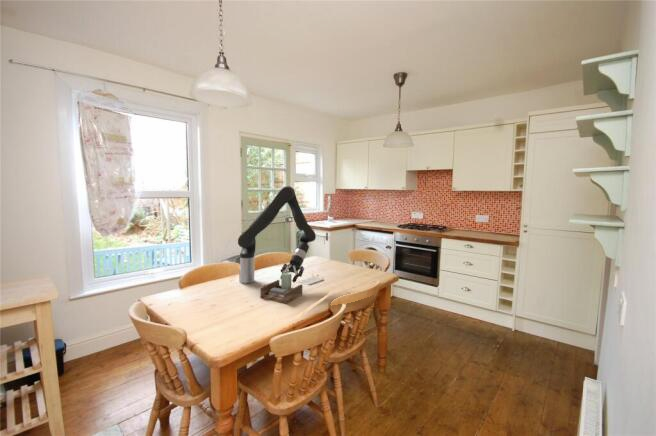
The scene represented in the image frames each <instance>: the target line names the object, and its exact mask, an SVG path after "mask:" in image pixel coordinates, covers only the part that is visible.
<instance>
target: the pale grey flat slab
mask: <svg viewBox="0 0 656 436" xmlns="http://www.w3.org/2000/svg"><path fill="white" fill-rule="evenodd" d="M322 281H324V277H322V276H321V277H319V275H316V276H315V275H314V274H312V275H311V277H307V278H305V279H302V280H299V281H296V282H295V283H297V284H300V285H307V286H311V285H315V284H317V283H319V282H322Z"/></svg>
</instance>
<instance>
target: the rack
mask: <svg viewBox="0 0 656 436" xmlns="http://www.w3.org/2000/svg"><path fill="white" fill-rule="evenodd" d="M280 280H281V279H277V280H275V281H273V282H270V283H267V284H265V285H263V286H261V287H260V289H259V291H260V292H259V293H260V296H259V297H260V299H264V300H268V301H271V302H276V303H280V304H283V305H288V304H289V303H291V302H292V301H294V300H296V299H298V298H300V297H301V296H303V284H299V285H297V286H295V287H291V290H289V291H287V292H285V293H284V299H283V298H278V297H274V296H270V295H268V293H269V292H270V289H272V288H280V289H281V285H280V283H281V281H280Z"/></svg>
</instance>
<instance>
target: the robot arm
mask: <svg viewBox="0 0 656 436" xmlns="http://www.w3.org/2000/svg"><path fill="white" fill-rule="evenodd" d="M286 204H287V205H288V206H289V209H290V211H291V215H292V217H293V220H294V223H295V225H296V227H297V229H298V230H299V231H303V233H301V235H300V237H299V241H298V244H297V247H296V248H295V251H294V252H293V255H292V257H291V258H290V260H289V263H288V264H287V263H286V262H285V263H283V265H282V267H281V269H280V273H281V274H283V273H288V274H290V273H292V274H293V273H294V274H295V275H294V276H293V278H292V279H291V282H293V283H296V282H297V280H298V278H299V277H300V278H301V277H302V276H303V274H304V271H305V267H304V266H302V265H303V264H304V260H305V258H306V256H307V253H308V252H309V250H310V246H309V245H308V243H311V242H314V241H315V240H316V238H317V236H316V233H315V231H314V229H313V228H312V227H311V225H309V224H308V221H307V219H306V217H305V215H304V213H303V211H302V209H301V206H300V204H299V202H298V198H297V194H296V192H295V189H294V188H293V187H291V186H289V185H286V186H282V187H281V188H280V189H279V191H278V192H277V194H276V196H274V198H273V200H271V202H270V203H269V204H268V205H266V207H264V209H263V210H262V211H261V212H260V213H259V214H258V215H257V217H256V218H255V220H253V222H252V223H251V224H250V225H249V226H248V228H247V229H246V230H245V231H244V232H242V233H241V234H240V235H239V236H238V239H237V244H238V246H239V247H240V248H241V251H240V252H239V253H240V254H239V264H240V265H239V268H238V276H239V277H238V279H239V282H240V283H241V284H247V285H248V284H252V283H255V253H256V245H257V244H256V237H257V236H258V235H259V234H260V233H261V232H262V231H263V230H265V229H267V227H269V226H270V224H271V223H272V222H273V221H274V220H275V219H276V217H277V215H278V214H279V212H280V211H281V209H282V208H283V207H284V206H286ZM280 279H281V276H280Z"/></svg>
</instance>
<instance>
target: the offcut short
mask: <svg viewBox="0 0 656 436" xmlns="http://www.w3.org/2000/svg"><path fill="white" fill-rule="evenodd" d="M285 292H287V290H285V289H280V288H272V289H270V293H272V294H278V295H283V296H284V293H285Z"/></svg>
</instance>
